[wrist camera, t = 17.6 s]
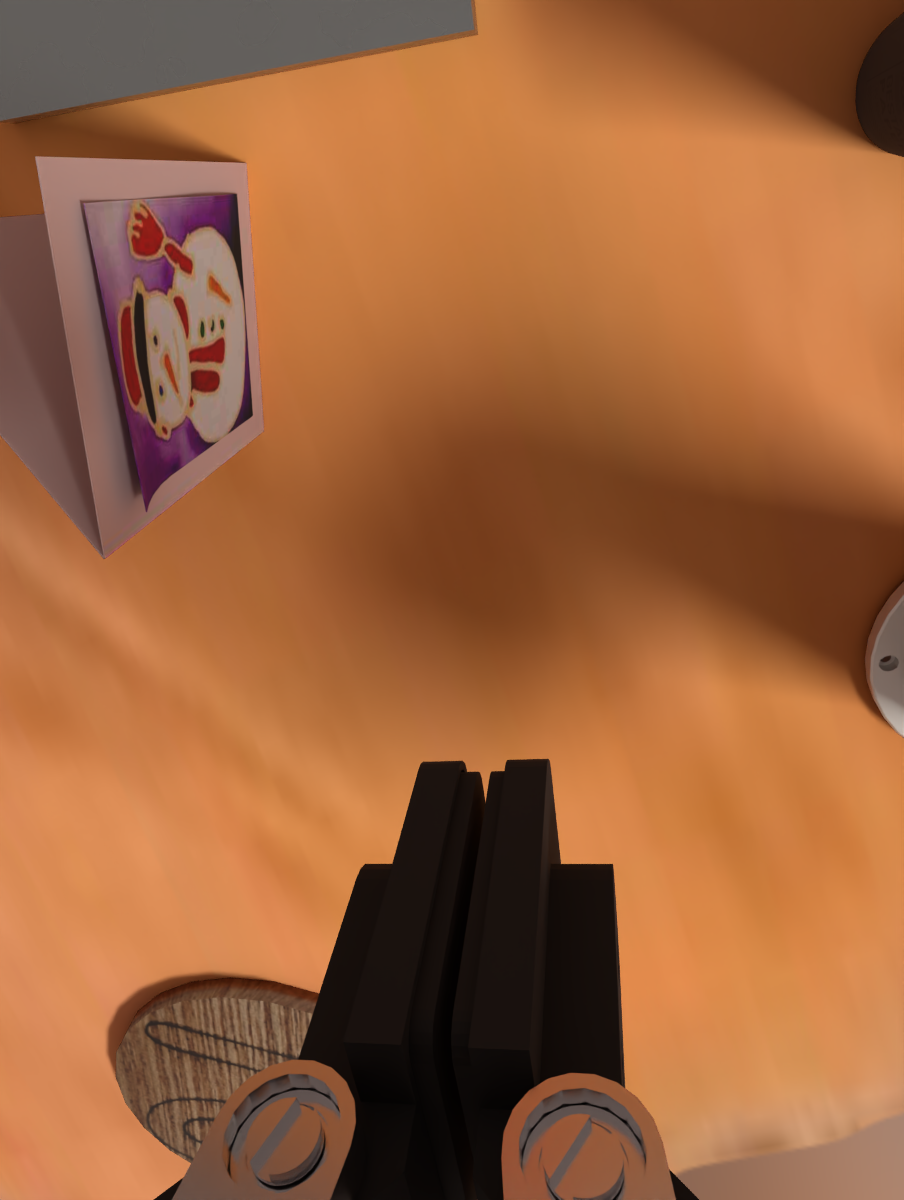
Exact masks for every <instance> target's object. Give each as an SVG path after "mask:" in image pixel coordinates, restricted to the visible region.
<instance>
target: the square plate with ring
mask: <svg viewBox="0 0 904 1200" xmlns="http://www.w3.org/2000/svg"><path fill="white" fill-rule="evenodd" d="M473 35H478V31H477V21H476V12H475V2H474V0H0V122H3V123H17V122H23V121H28V120H33V119H38V118H44V117H49V116H54V115H59V114H64V113H70V112H75V111H80V110H85V109H91V108H96V107H101V106H106V105H112V104H117V103H122V102H127V101H133V100H138V99H143V98H148V97H153V96H159V95H164V94H169V93H174V92H180V91H185V90H190V89H195V88H201V87H206V86H211V85H216V84H222V83H227V82H232V81H237V80H242V79H248V78H253V77H258V76H263V75H269V74H274V73H279V72H284V71H290V70H295V69H300V68H305V67H311V66H316V65H321V64H326V63H331V62H337V61H342V60H347V59H352V58H358V57H363V56H368V55H373V54H379V53H384V52H389V51H394V50H400V49H405V48H410V47H415V46H421V45H426V44H431V43H436V42H441V41H447V40H452V39H457V38H462V37H468V36H473Z"/></svg>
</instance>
